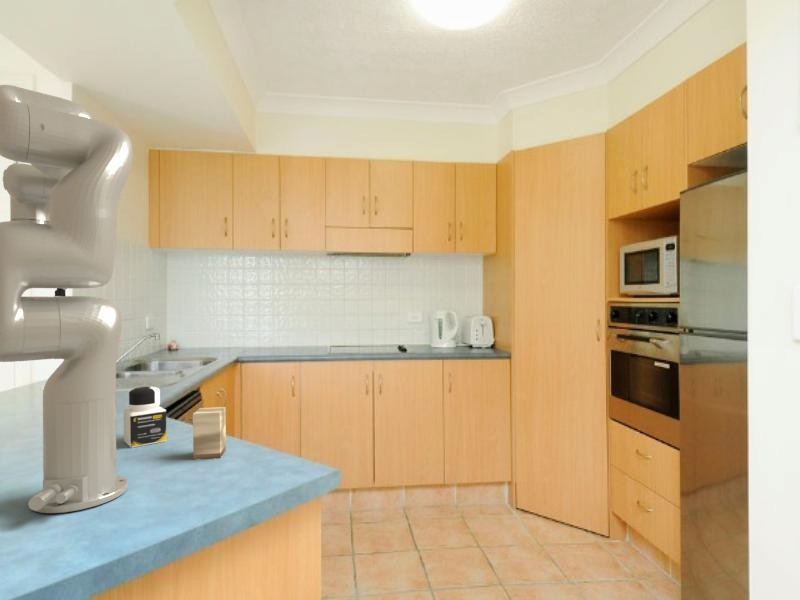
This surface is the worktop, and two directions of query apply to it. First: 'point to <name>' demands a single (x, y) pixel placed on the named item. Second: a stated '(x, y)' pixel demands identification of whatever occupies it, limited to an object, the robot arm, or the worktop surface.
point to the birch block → (209, 433)
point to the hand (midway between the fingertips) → (33, 307)
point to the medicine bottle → (144, 418)
